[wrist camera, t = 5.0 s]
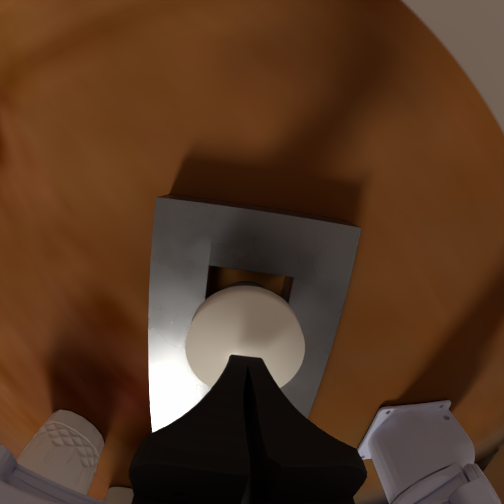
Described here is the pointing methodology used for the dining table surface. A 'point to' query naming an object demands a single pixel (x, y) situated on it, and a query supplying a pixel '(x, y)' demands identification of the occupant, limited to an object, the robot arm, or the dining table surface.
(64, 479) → the white cup
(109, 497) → the travel mug
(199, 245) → the knob mount
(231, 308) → the knob
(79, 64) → the dining table surface
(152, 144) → the dining table surface
